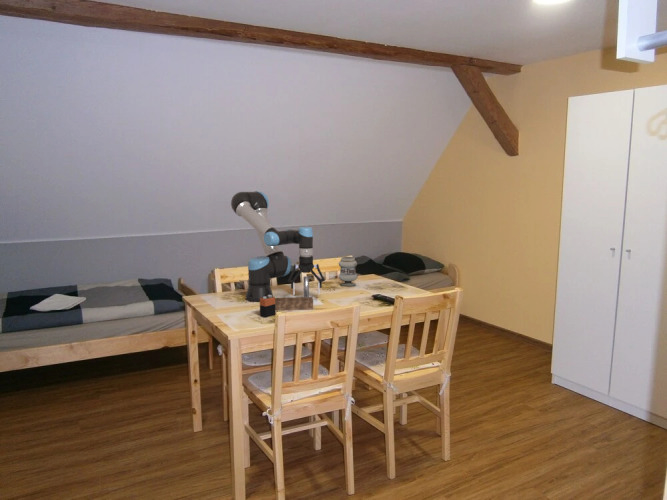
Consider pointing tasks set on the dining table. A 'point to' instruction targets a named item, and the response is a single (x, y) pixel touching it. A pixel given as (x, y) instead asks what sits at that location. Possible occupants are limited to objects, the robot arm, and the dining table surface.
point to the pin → (306, 286)
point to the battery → (267, 306)
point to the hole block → (294, 303)
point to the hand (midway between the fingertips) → (306, 294)
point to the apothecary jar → (348, 271)
